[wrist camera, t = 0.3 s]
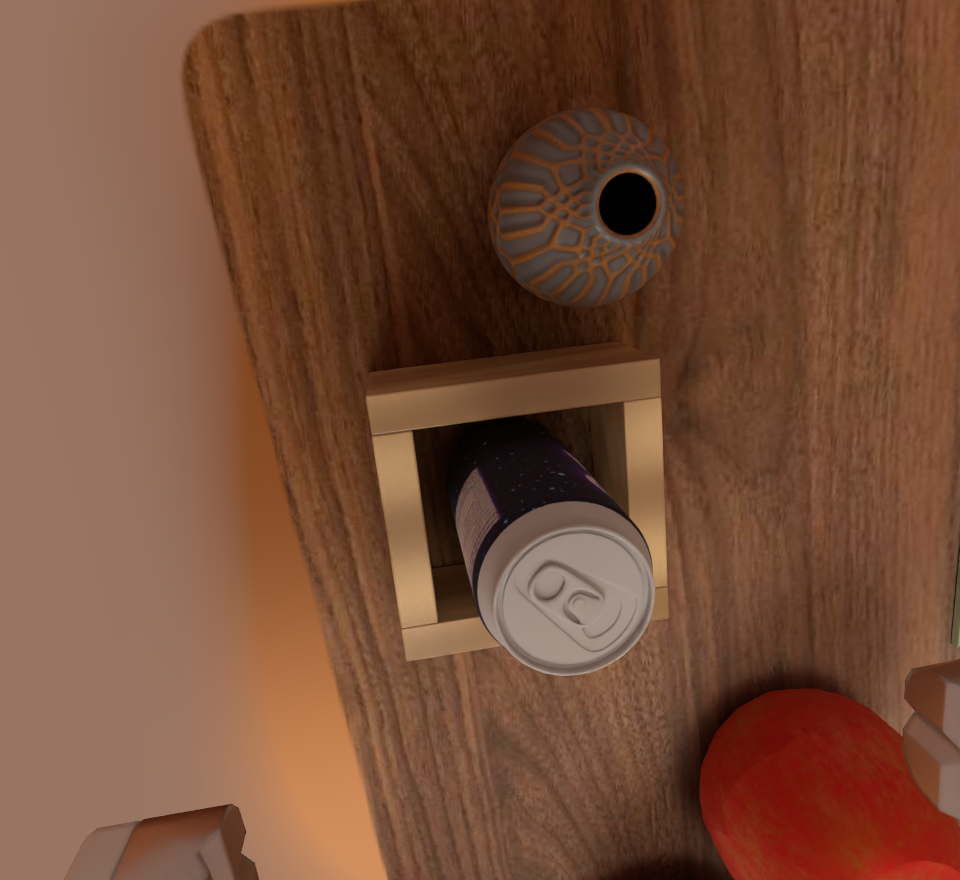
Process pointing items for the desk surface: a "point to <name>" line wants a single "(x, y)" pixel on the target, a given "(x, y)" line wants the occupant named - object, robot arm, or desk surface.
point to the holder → (498, 394)
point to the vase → (586, 207)
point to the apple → (820, 795)
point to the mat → (957, 613)
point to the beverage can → (548, 551)
